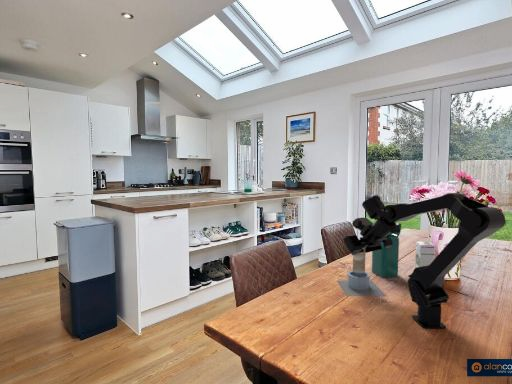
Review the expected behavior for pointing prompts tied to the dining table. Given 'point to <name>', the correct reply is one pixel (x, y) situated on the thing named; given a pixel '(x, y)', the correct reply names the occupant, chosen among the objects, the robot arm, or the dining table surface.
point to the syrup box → (424, 253)
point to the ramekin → (358, 280)
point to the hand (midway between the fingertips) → (356, 253)
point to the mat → (372, 290)
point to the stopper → (359, 262)
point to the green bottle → (387, 258)
